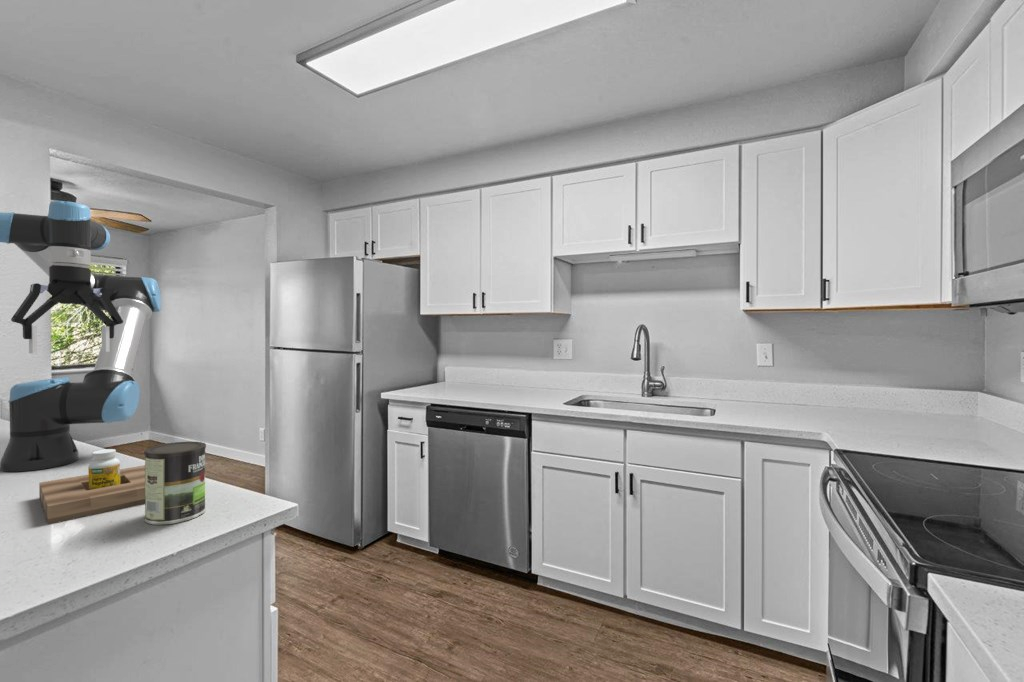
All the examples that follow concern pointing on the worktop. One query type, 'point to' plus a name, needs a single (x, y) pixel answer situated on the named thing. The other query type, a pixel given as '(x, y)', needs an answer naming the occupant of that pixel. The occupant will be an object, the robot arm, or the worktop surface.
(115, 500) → the socket block
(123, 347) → the robot arm
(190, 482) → the coffee can
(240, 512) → the worktop surface
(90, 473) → the supplement bottle
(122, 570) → the worktop surface
